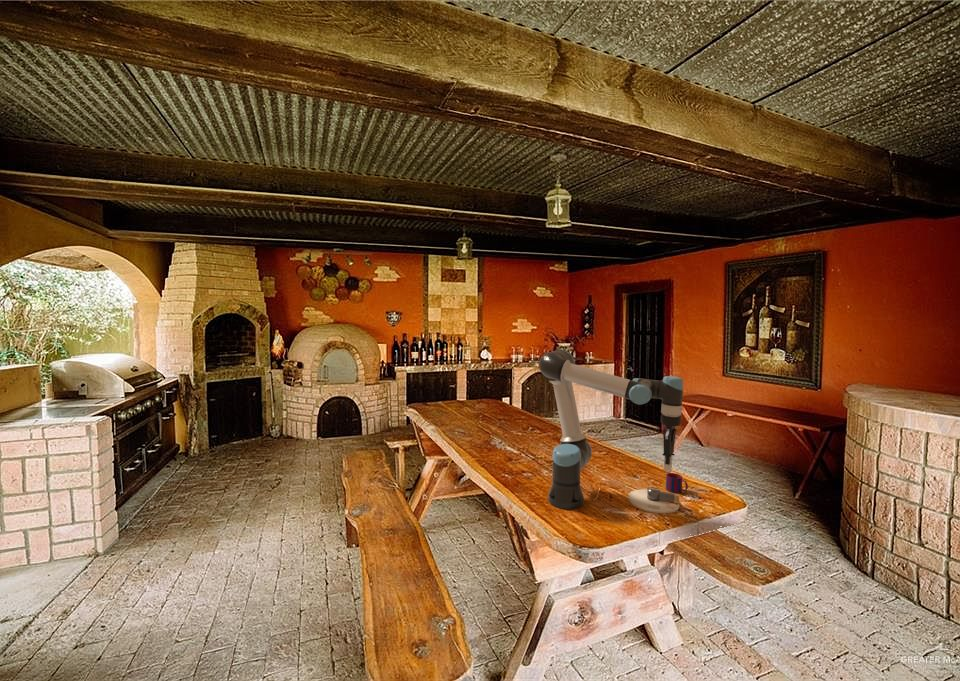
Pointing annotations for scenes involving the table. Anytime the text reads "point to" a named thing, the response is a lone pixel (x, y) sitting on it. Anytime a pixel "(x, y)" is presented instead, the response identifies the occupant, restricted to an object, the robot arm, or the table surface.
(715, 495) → the table surface
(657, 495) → the needle
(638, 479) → the table surface
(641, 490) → the dial plate
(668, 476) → the mug
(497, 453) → the table surface
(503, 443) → the table surface
